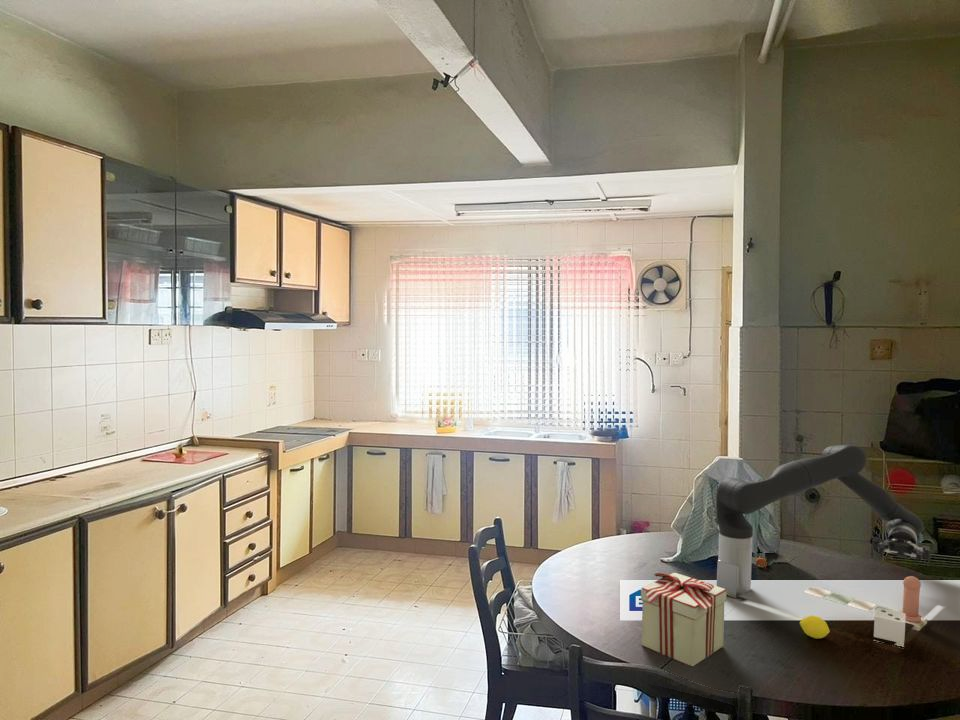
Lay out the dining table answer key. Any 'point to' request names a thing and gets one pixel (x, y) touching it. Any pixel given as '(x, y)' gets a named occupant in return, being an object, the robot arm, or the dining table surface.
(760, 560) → the kendama
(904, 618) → the die
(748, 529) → the robot arm
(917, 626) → the board
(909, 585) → the pawn
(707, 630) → the gift box
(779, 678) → the dining table surface
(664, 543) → the dining table surface
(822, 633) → the lemon
